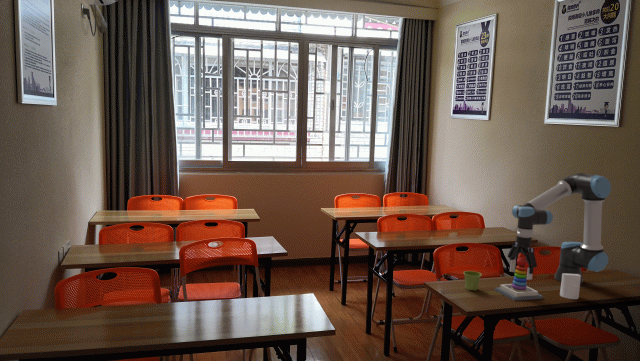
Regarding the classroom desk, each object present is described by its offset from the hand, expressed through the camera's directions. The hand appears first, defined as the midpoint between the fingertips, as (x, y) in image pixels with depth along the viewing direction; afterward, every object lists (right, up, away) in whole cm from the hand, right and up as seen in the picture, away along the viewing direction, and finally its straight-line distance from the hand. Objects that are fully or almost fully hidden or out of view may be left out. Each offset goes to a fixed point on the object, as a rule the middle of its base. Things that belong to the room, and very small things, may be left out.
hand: (520, 275), depth 272 cm
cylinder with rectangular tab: (+27, -12, +3) cm, 30 cm away
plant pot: (-24, -9, +6) cm, 27 cm away
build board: (-1, -10, +1) cm, 10 cm away
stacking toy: (-1, -9, +1) cm, 9 cm away
